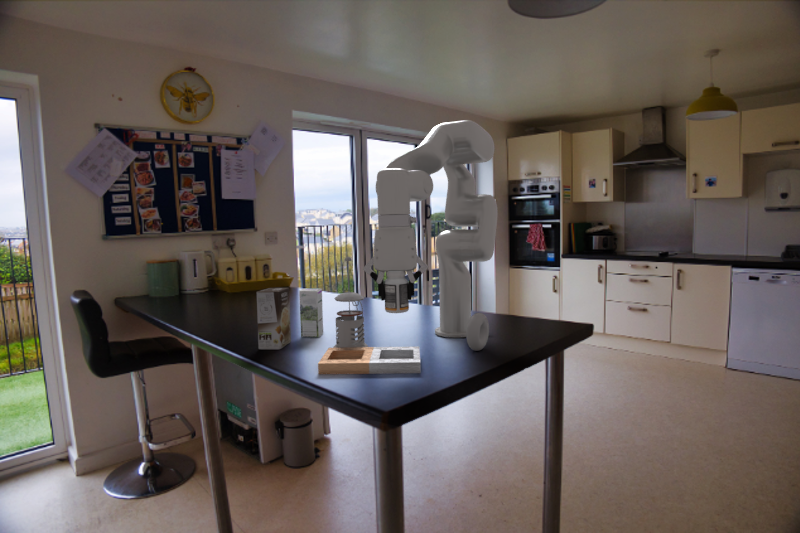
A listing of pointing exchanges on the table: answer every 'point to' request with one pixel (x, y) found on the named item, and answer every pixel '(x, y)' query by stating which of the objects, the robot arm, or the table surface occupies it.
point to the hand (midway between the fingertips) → (396, 298)
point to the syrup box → (311, 312)
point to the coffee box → (273, 318)
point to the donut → (477, 331)
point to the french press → (349, 321)
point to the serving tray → (370, 360)
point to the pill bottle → (396, 292)
